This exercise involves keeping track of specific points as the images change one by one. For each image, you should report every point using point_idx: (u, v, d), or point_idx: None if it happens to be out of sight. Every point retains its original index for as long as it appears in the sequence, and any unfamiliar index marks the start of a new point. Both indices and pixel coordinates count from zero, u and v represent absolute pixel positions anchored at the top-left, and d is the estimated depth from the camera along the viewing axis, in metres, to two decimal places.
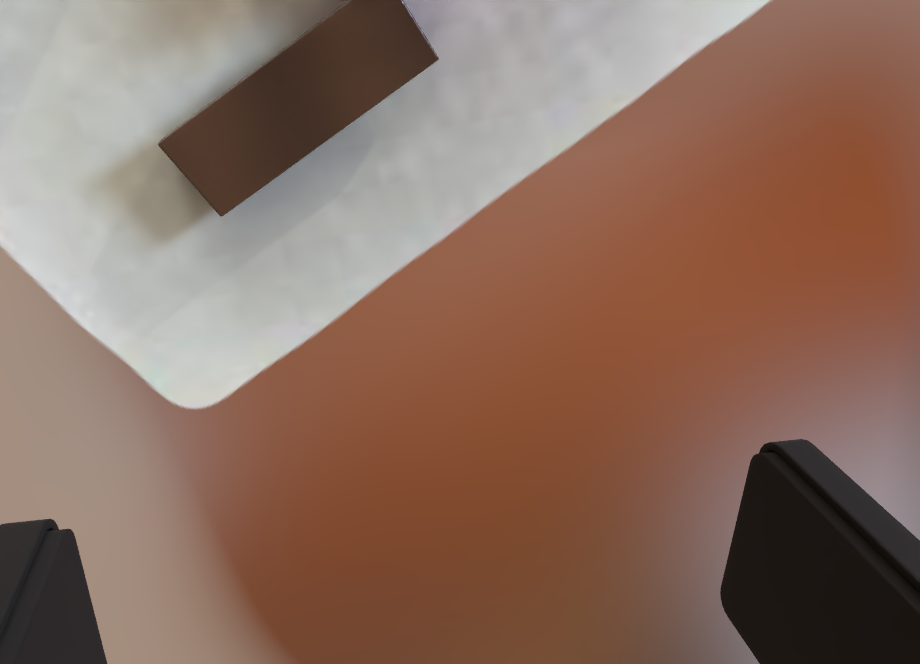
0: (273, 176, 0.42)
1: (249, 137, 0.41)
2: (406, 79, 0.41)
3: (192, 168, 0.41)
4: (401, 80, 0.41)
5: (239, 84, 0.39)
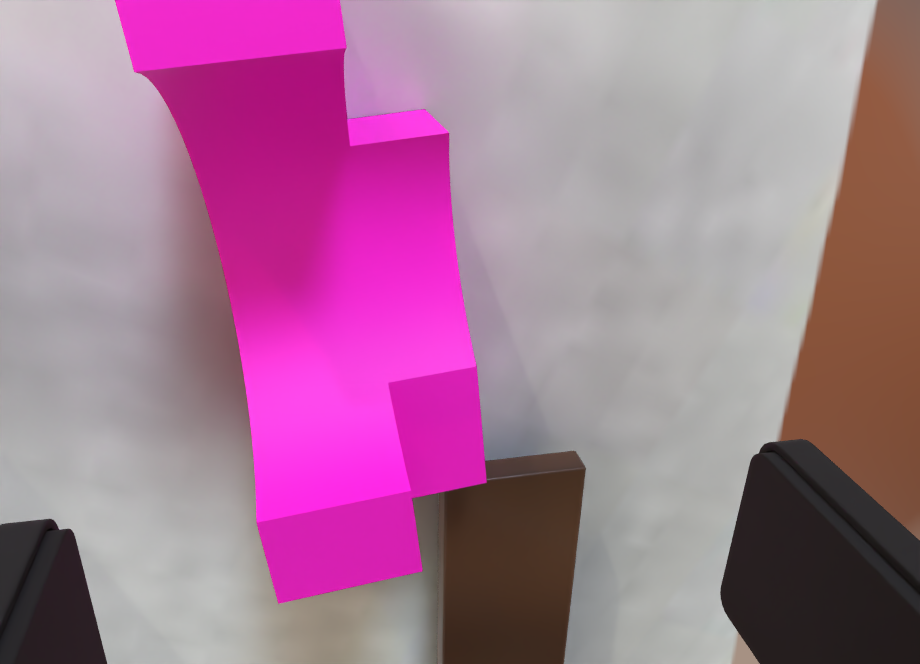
0: None
1: None
2: (577, 516, 0.27)
3: None
4: (573, 522, 0.27)
5: None
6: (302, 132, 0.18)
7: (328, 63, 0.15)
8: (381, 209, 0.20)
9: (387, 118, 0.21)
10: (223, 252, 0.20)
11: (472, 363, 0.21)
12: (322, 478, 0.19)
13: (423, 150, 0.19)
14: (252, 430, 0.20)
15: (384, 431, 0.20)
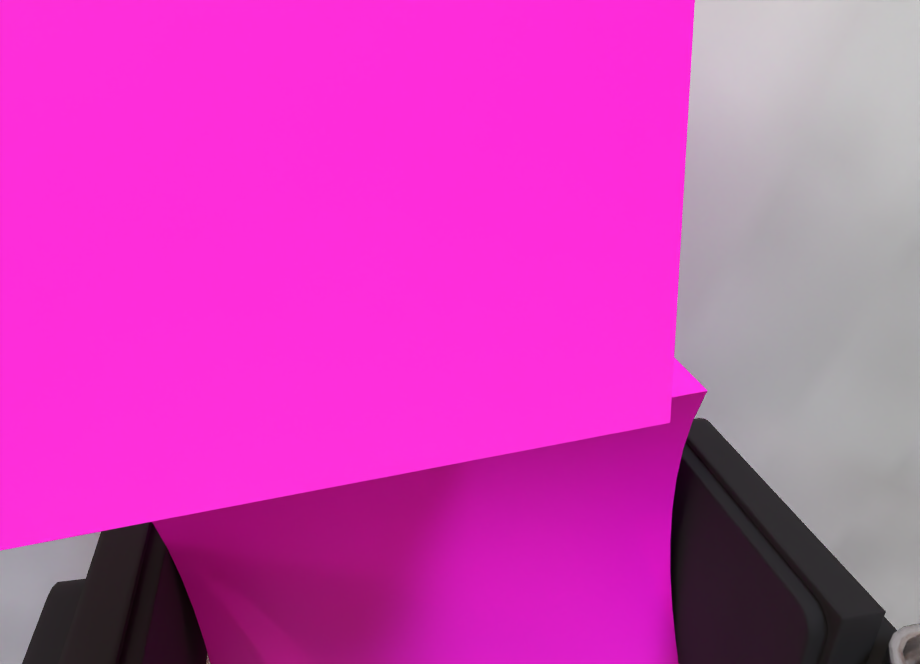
0: None
1: None
2: None
3: None
4: None
5: None
6: None
7: None
8: (534, 519, 0.10)
9: None
10: (206, 619, 0.09)
11: None
12: None
13: None
14: None
15: None
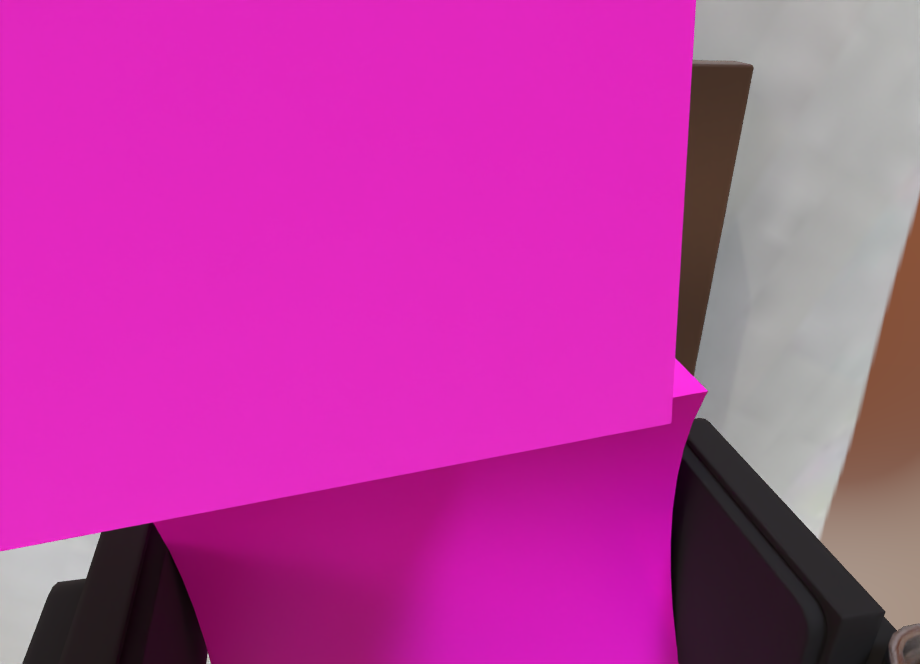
0: None
1: None
2: (736, 137, 0.23)
3: None
4: (732, 146, 0.23)
5: None
6: None
7: None
8: (535, 519, 0.10)
9: None
10: (207, 619, 0.09)
11: None
12: None
13: None
14: None
15: None
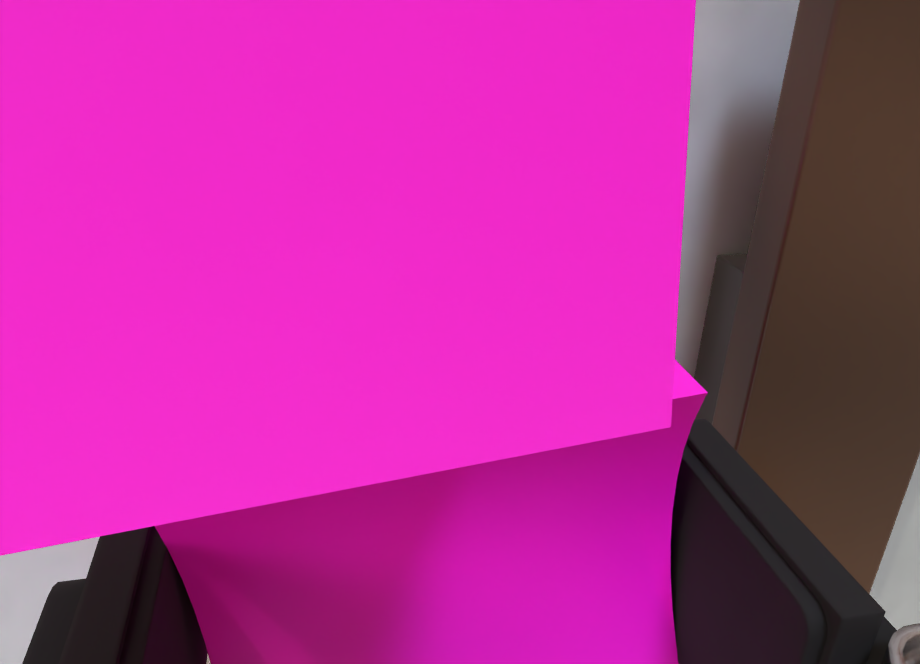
0: (905, 486, 0.18)
1: (820, 487, 0.17)
2: None
3: None
4: None
5: (736, 448, 0.16)
6: None
7: None
8: (535, 520, 0.10)
9: None
10: (207, 620, 0.09)
11: None
12: None
13: None
14: None
15: None
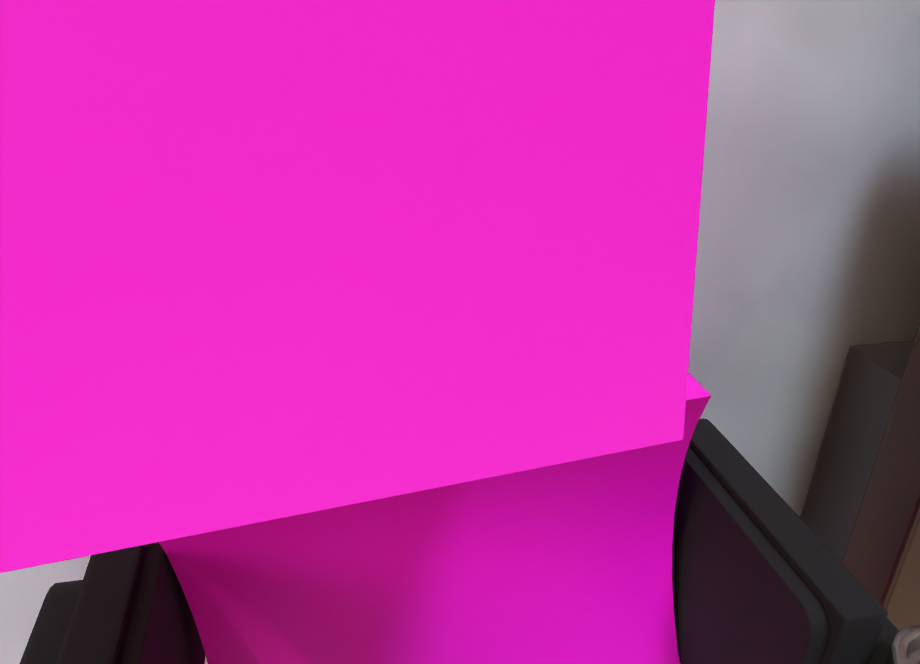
0: None
1: None
2: None
3: None
4: None
5: (883, 605, 0.12)
6: None
7: None
8: (537, 524, 0.10)
9: None
10: (205, 625, 0.09)
11: None
12: None
13: None
14: None
15: None
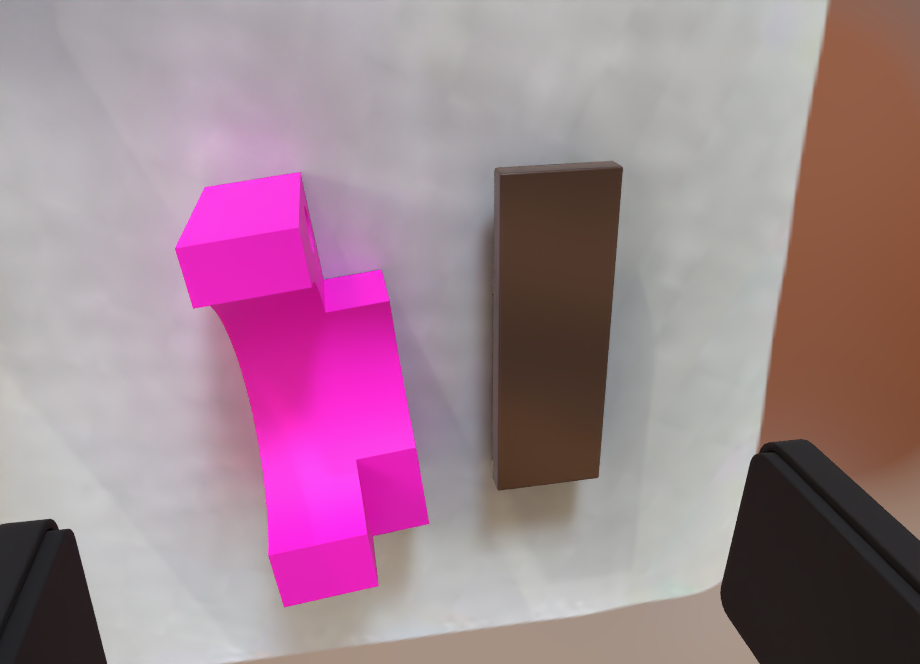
0: (601, 410, 0.34)
1: (551, 411, 0.34)
2: (616, 218, 0.30)
3: (539, 475, 0.35)
4: (613, 224, 0.30)
5: (499, 389, 0.33)
6: (293, 308, 0.28)
7: None
8: (348, 346, 0.30)
9: (354, 280, 0.31)
10: (246, 377, 0.30)
11: (413, 445, 0.31)
12: (310, 526, 0.29)
13: (374, 311, 0.29)
14: (266, 493, 0.30)
15: (352, 493, 0.30)
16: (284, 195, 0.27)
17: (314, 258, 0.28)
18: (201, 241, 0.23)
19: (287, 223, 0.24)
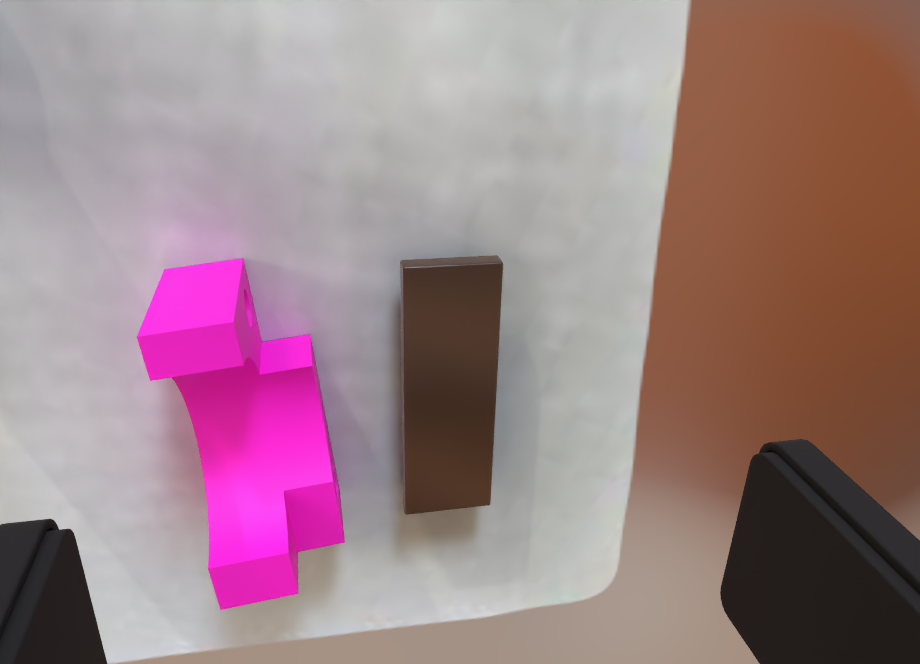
0: (491, 451, 0.42)
1: (449, 451, 0.41)
2: (498, 301, 0.38)
3: (440, 502, 0.43)
4: (496, 306, 0.38)
5: (405, 433, 0.40)
6: (233, 372, 0.35)
7: None
8: (279, 399, 0.37)
9: (286, 343, 0.38)
10: (194, 423, 0.37)
11: (330, 479, 0.38)
12: (243, 545, 0.36)
13: (299, 373, 0.36)
14: (209, 517, 0.37)
15: (279, 518, 0.37)
16: (227, 284, 0.34)
17: (251, 331, 0.35)
18: (157, 331, 0.30)
19: (225, 317, 0.31)
